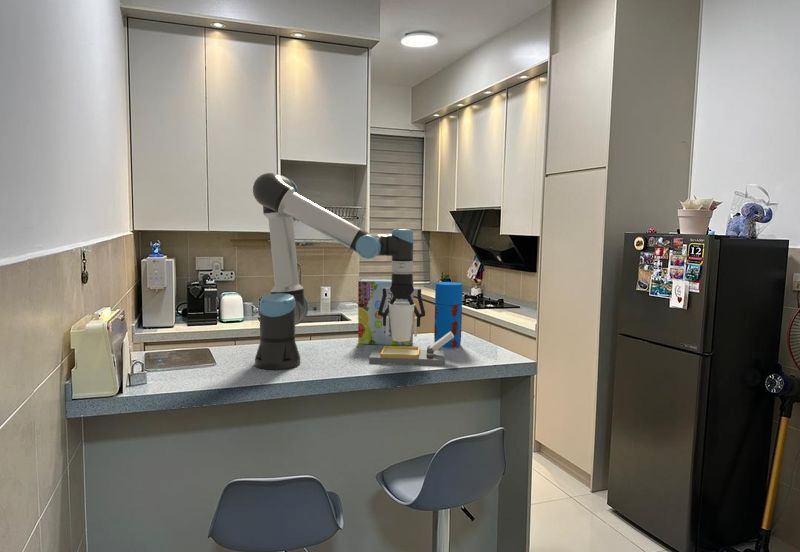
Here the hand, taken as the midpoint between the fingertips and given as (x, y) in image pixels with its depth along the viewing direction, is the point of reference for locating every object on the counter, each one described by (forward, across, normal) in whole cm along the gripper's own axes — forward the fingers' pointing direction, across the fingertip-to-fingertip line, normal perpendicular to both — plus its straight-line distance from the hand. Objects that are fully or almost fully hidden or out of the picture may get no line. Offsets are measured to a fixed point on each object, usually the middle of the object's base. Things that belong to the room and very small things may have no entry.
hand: (401, 335), depth 193 cm
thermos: (+9, +17, +25) cm, 31 cm away
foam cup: (+2, 0, 0) cm, 2 cm away
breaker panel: (+9, +2, 0) cm, 9 cm away
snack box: (+9, -8, +25) cm, 28 cm away
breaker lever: (+6, +9, 0) cm, 11 cm away
